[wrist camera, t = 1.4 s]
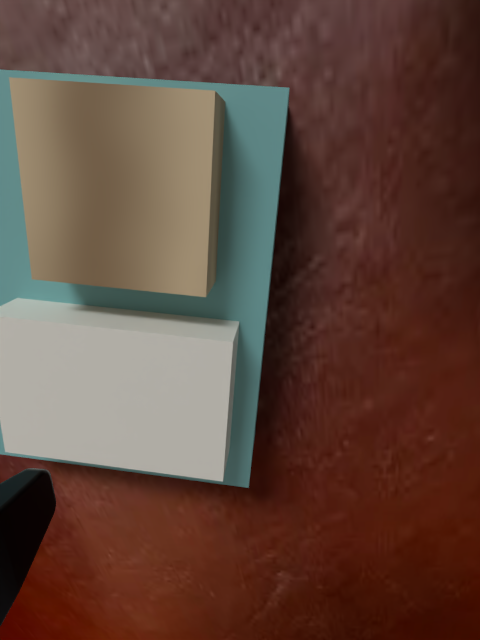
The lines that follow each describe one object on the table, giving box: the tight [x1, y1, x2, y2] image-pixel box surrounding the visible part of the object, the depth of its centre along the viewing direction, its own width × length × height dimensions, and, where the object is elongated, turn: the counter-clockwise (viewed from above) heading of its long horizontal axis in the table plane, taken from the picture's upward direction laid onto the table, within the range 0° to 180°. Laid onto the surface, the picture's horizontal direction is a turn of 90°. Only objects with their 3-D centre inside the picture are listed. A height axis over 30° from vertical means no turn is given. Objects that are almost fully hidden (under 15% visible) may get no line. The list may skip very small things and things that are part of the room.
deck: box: [0, 70, 289, 488], centre depth 18 cm, size 14×16×4 cm
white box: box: [0, 298, 239, 482], centre depth 16 cm, size 9×6×2 cm, turn 86°
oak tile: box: [9, 77, 225, 297], centre depth 13 cm, size 6×6×2 cm
